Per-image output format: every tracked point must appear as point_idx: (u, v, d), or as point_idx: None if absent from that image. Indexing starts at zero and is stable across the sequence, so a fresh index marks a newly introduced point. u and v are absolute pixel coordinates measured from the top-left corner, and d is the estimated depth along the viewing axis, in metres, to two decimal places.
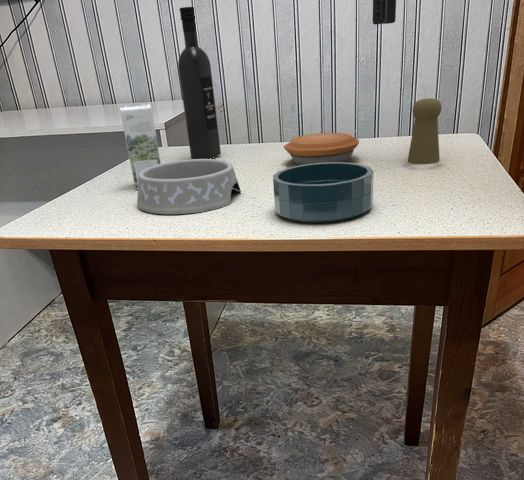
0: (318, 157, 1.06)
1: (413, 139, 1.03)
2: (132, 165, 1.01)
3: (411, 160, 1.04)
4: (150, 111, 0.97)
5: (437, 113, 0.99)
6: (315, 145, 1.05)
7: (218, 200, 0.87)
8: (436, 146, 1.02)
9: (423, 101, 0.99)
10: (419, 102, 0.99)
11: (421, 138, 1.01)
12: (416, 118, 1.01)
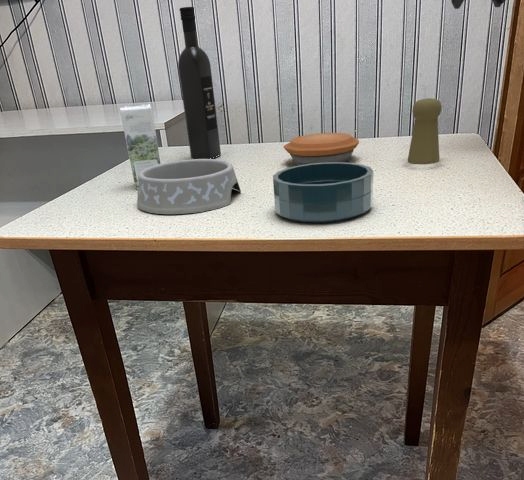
0: (318, 157, 1.06)
1: (413, 139, 1.03)
2: (132, 165, 1.01)
3: (411, 160, 1.04)
4: (150, 111, 0.97)
5: (437, 113, 0.99)
6: (315, 145, 1.05)
7: (218, 200, 0.87)
8: (436, 146, 1.02)
9: (423, 101, 0.99)
10: (419, 102, 0.99)
11: (421, 138, 1.01)
12: (416, 118, 1.01)
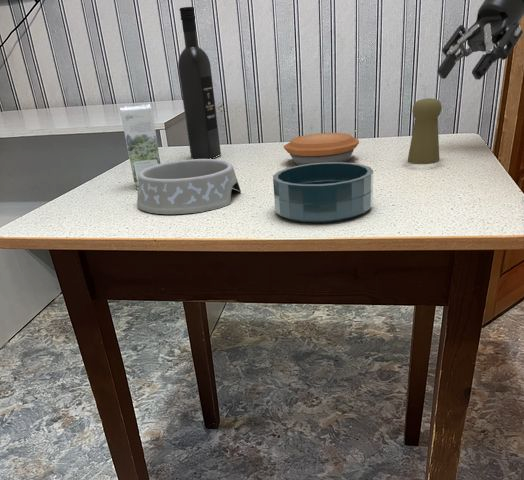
0: (318, 157, 1.06)
1: (413, 139, 1.03)
2: (132, 165, 1.01)
3: (411, 160, 1.04)
4: (150, 111, 0.97)
5: (437, 113, 0.99)
6: (315, 145, 1.05)
7: (218, 200, 0.87)
8: (436, 146, 1.02)
9: (423, 101, 0.99)
10: (419, 102, 0.99)
11: (421, 138, 1.01)
12: (416, 118, 1.01)
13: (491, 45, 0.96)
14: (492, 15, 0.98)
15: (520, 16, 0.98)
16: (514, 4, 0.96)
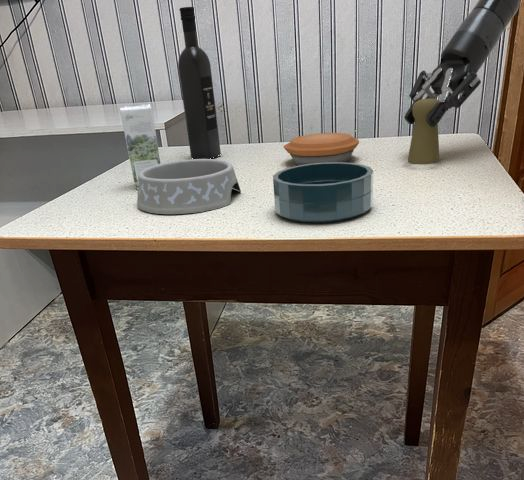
0: (318, 157, 1.06)
1: (413, 139, 1.03)
2: (132, 165, 1.01)
3: (411, 160, 1.04)
4: (150, 111, 0.97)
5: None
6: (315, 145, 1.05)
7: (218, 200, 0.87)
8: (436, 146, 1.02)
9: (423, 101, 0.99)
10: (419, 102, 0.99)
11: (421, 138, 1.01)
12: (416, 118, 1.01)
13: (446, 94, 0.97)
14: (455, 60, 0.98)
15: (482, 60, 0.98)
16: (475, 49, 0.96)
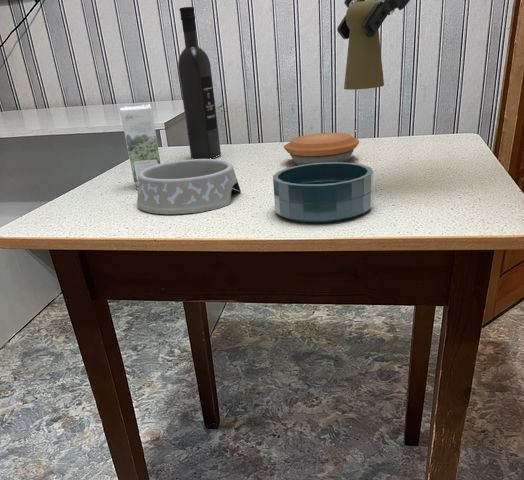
0: (318, 157, 1.06)
1: (348, 57, 0.79)
2: (132, 165, 1.01)
3: (347, 86, 0.80)
4: (150, 111, 0.97)
5: None
6: (315, 145, 1.05)
7: (218, 200, 0.87)
8: (378, 65, 0.78)
9: (358, 3, 0.75)
10: (352, 5, 0.75)
11: (357, 54, 0.78)
12: (350, 28, 0.77)
13: None
14: None
15: None
16: None
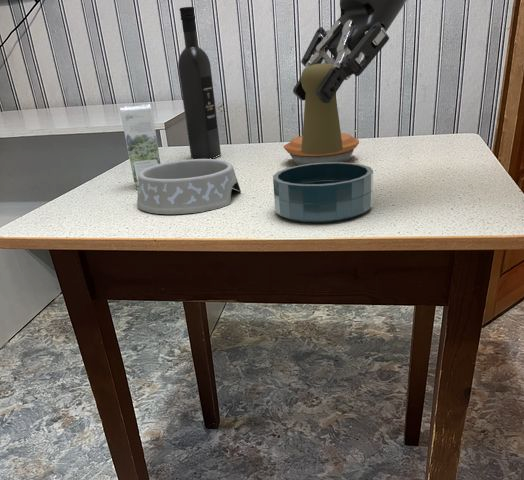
0: (318, 157, 1.06)
1: (304, 121, 0.75)
2: (132, 165, 1.01)
3: (304, 150, 0.76)
4: (150, 111, 0.97)
5: None
6: None
7: (218, 200, 0.87)
8: (335, 130, 0.74)
9: (312, 67, 0.71)
10: (307, 68, 0.71)
11: (313, 119, 0.73)
12: (306, 91, 0.73)
13: (342, 56, 0.69)
14: (356, 9, 0.71)
15: (394, 10, 0.70)
16: None
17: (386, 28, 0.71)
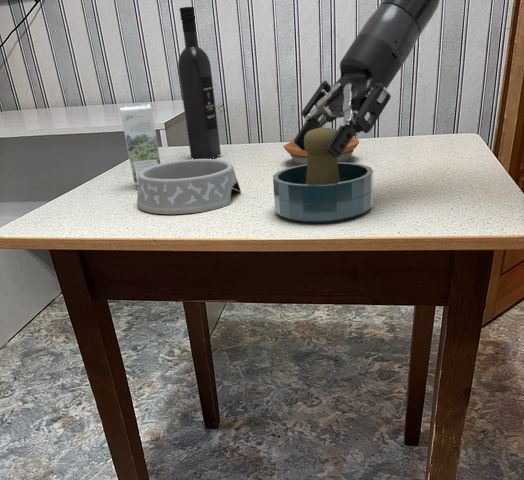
0: None
1: (307, 180, 0.79)
2: (132, 165, 1.01)
3: None
4: (150, 111, 0.97)
5: None
6: None
7: (218, 200, 0.87)
8: None
9: (315, 132, 0.75)
10: (310, 133, 0.75)
11: (315, 179, 0.78)
12: (308, 153, 0.77)
13: (350, 114, 0.72)
14: (355, 72, 0.74)
15: (391, 73, 0.74)
16: (380, 59, 0.72)
17: None
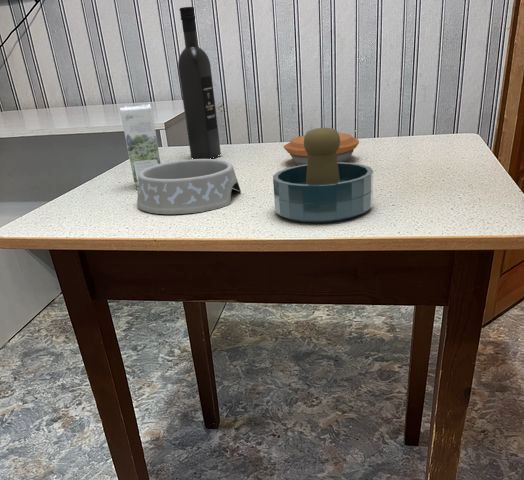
0: None
1: (307, 180, 0.79)
2: (132, 165, 1.01)
3: None
4: (150, 111, 0.97)
5: (333, 147, 0.75)
6: None
7: (218, 200, 0.87)
8: None
9: (315, 132, 0.75)
10: (310, 133, 0.75)
11: (315, 179, 0.78)
12: (308, 153, 0.77)
13: None
14: None
15: None
16: None
17: None
